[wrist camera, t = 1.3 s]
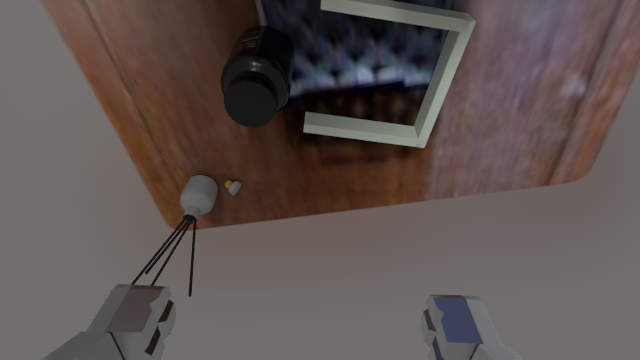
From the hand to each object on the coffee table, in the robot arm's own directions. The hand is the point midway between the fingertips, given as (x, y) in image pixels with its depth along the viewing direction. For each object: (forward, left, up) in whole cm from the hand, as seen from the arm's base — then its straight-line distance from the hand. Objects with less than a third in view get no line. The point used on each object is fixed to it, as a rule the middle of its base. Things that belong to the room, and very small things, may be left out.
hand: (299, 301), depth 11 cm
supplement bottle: (-1, -8, -35) cm, 36 cm away
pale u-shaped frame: (+10, 0, -35) cm, 36 cm away
